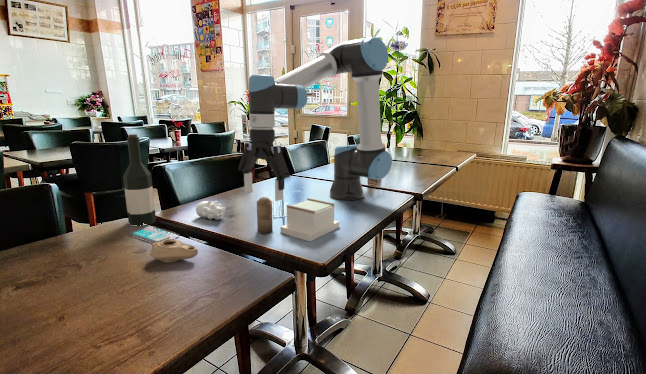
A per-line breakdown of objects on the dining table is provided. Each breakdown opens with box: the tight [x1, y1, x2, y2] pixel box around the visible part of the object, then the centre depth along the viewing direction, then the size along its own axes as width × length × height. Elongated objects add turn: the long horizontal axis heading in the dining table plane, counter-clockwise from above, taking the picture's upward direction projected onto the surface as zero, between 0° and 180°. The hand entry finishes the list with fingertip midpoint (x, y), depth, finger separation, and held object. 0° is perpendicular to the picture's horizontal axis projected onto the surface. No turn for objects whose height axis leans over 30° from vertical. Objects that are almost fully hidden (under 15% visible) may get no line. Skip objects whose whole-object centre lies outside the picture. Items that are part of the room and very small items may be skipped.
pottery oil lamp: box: [148, 239, 199, 264], centre depth 91 cm, size 9×12×7 cm
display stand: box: [280, 197, 340, 242], centre depth 113 cm, size 16×12×9 cm
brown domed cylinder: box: [256, 196, 274, 235], centre depth 112 cm, size 5×5×11 cm
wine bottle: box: [122, 133, 157, 227], centre depth 116 cm, size 8×8×30 cm
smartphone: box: [128, 226, 181, 243], centre depth 108 cm, size 9×1×15 cm
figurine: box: [195, 200, 227, 221], centre depth 124 cm, size 7×7×12 cm
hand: (263, 196), depth 110 cm, fingers open, 13 cm apart
